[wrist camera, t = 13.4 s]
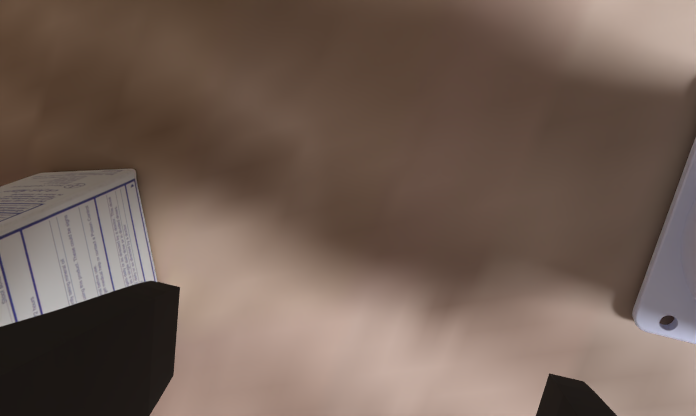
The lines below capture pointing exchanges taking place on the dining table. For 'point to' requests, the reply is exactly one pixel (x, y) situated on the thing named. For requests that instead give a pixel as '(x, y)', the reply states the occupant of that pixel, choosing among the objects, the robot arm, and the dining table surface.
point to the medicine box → (70, 240)
